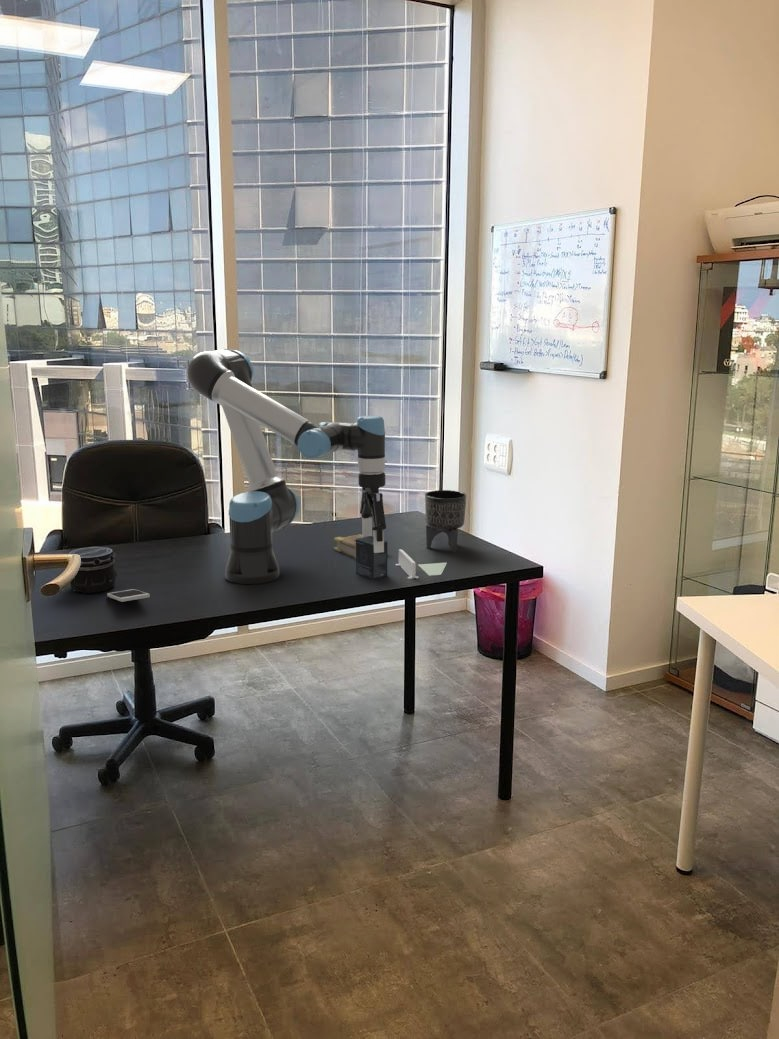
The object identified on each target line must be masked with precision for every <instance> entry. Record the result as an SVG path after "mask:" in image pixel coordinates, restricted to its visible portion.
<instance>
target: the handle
mask: <svg viewBox="0 0 779 1039" xmlns="http://www.w3.org/2000/svg"><path fill="white" fill-rule="evenodd" d="M416 565H417V563H416V562H415V561H414V559H413V558H411V557H410V555H409V554H408V553H406V551H404V550H403V549H398V563H395V565H394V566H396V567H400V566H401V567H400V568H401V570H403V571H404V572H405V573H406V574H407V575H408V576H407V579H408V580H412V579H413V580H415V578H416V579H420V577H419V576H418V575H416V572H417V571H416V570H417V569H416V568H417V566H416Z"/></svg>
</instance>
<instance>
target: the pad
mask: <svg viewBox="0 0 779 1039" xmlns="http://www.w3.org/2000/svg"><path fill="white" fill-rule="evenodd" d="M446 565H447V562H435V563H424V564H423V563H422V564H421V563H420V564H419V563H418V567H419V568H421V569H422V571H423V572H425V573H426V575H427V576H429V577H430V576H440V575H442V574H443V571H444V569H445V567H446Z"/></svg>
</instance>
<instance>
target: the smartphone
mask: <svg viewBox="0 0 779 1039" xmlns="http://www.w3.org/2000/svg"><path fill="white" fill-rule="evenodd" d="M106 595H107V597H109V598H110V599H113V600H116V601H118V602H122V603H123V602H127V601H128V602H130V601H134V600H135V601H136V600H140V599H146V598H150V593H148V592H144V591H141V590H139V589H134V588H132V589H126V590H121V591H119V590H118V591H114V592H113V591H112V592H108V593H106Z"/></svg>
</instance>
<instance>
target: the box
mask: <svg viewBox="0 0 779 1039" xmlns="http://www.w3.org/2000/svg"><path fill="white" fill-rule="evenodd" d="M355 574H356V575H359V576H361V577H365V578H368V579H370V580H376V579H380V578H384V577H388V540H385V539H384V552H380V553H374V536H373V535H372V536H368V537H363V538H357V539H356V559H355Z"/></svg>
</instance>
